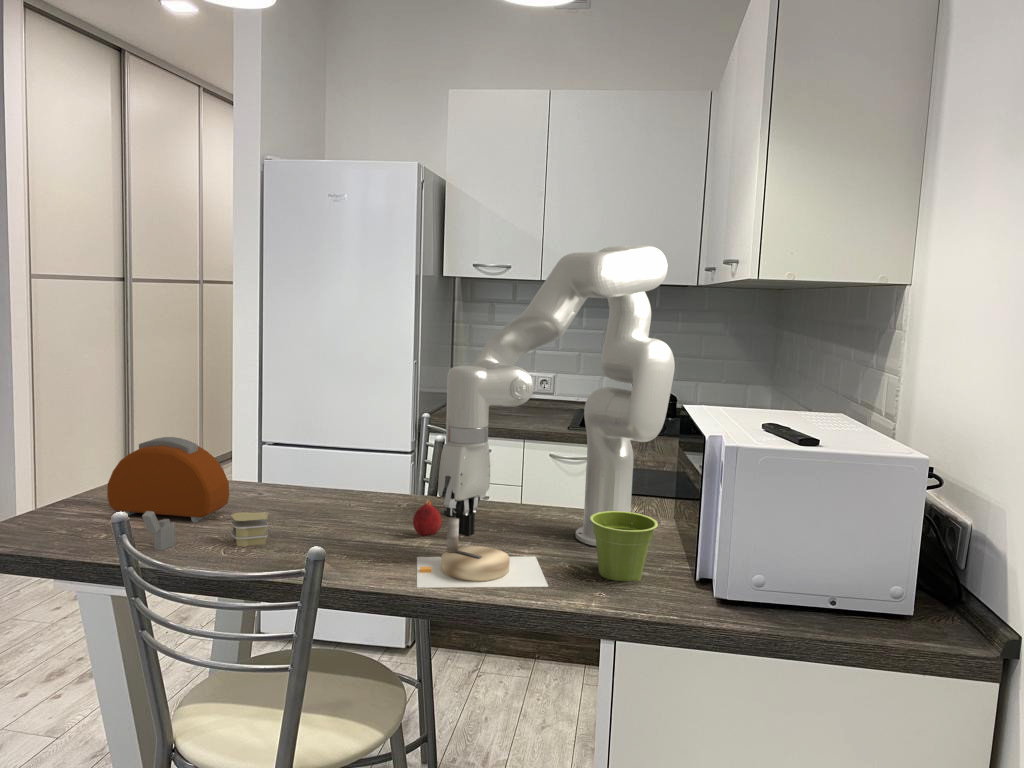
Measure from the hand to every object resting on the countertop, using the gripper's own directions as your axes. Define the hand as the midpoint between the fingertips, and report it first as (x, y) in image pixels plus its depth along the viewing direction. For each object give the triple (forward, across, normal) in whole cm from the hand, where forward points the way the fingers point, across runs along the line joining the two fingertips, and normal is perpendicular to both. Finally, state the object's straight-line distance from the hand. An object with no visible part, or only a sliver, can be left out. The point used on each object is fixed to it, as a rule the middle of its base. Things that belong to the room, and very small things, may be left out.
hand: (464, 533), depth 146 cm
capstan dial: (+4, +3, +5) cm, 7 cm away
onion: (+6, -8, -16) cm, 19 cm away
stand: (+6, +3, +6) cm, 9 cm away
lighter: (+6, +30, -49) cm, 58 cm away
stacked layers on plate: (+7, +16, -40) cm, 44 cm away
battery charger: (+7, -26, -24) cm, 36 cm away
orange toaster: (+6, +16, -68) cm, 70 cm away
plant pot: (+7, -12, +26) cm, 29 cm away
